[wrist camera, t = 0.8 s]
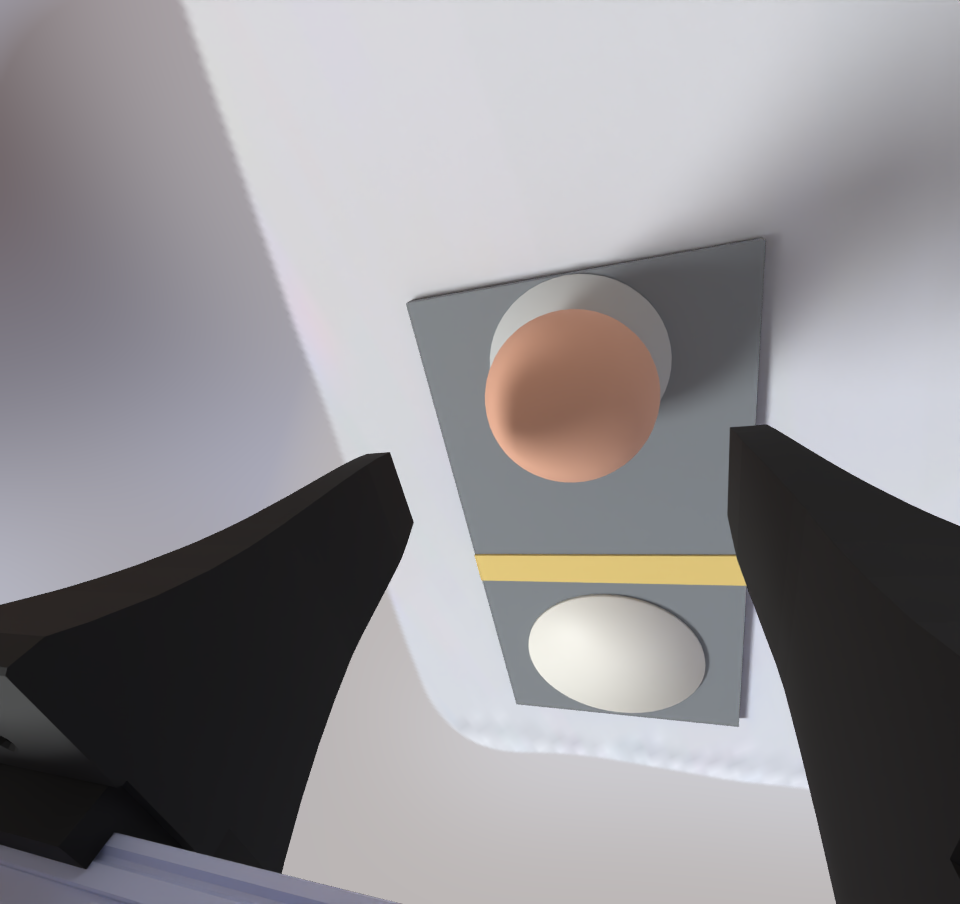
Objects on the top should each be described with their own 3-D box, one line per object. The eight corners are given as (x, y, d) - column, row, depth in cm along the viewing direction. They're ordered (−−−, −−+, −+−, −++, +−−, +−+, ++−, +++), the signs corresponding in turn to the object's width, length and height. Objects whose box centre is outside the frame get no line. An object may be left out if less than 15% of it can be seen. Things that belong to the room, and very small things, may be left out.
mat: (736, 718, 24) (739, 728, 23) (517, 697, 27) (516, 705, 27) (762, 237, 14) (766, 240, 13) (410, 300, 17) (404, 304, 17)
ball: (688, 340, 15) (714, 407, 11) (600, 456, 18) (594, 546, 14) (547, 261, 15) (518, 299, 11) (480, 391, 18) (437, 461, 13)
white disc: (745, 653, 21) (746, 656, 21) (636, 729, 25) (636, 733, 25) (583, 565, 21) (583, 569, 21) (502, 658, 25) (501, 661, 25)
